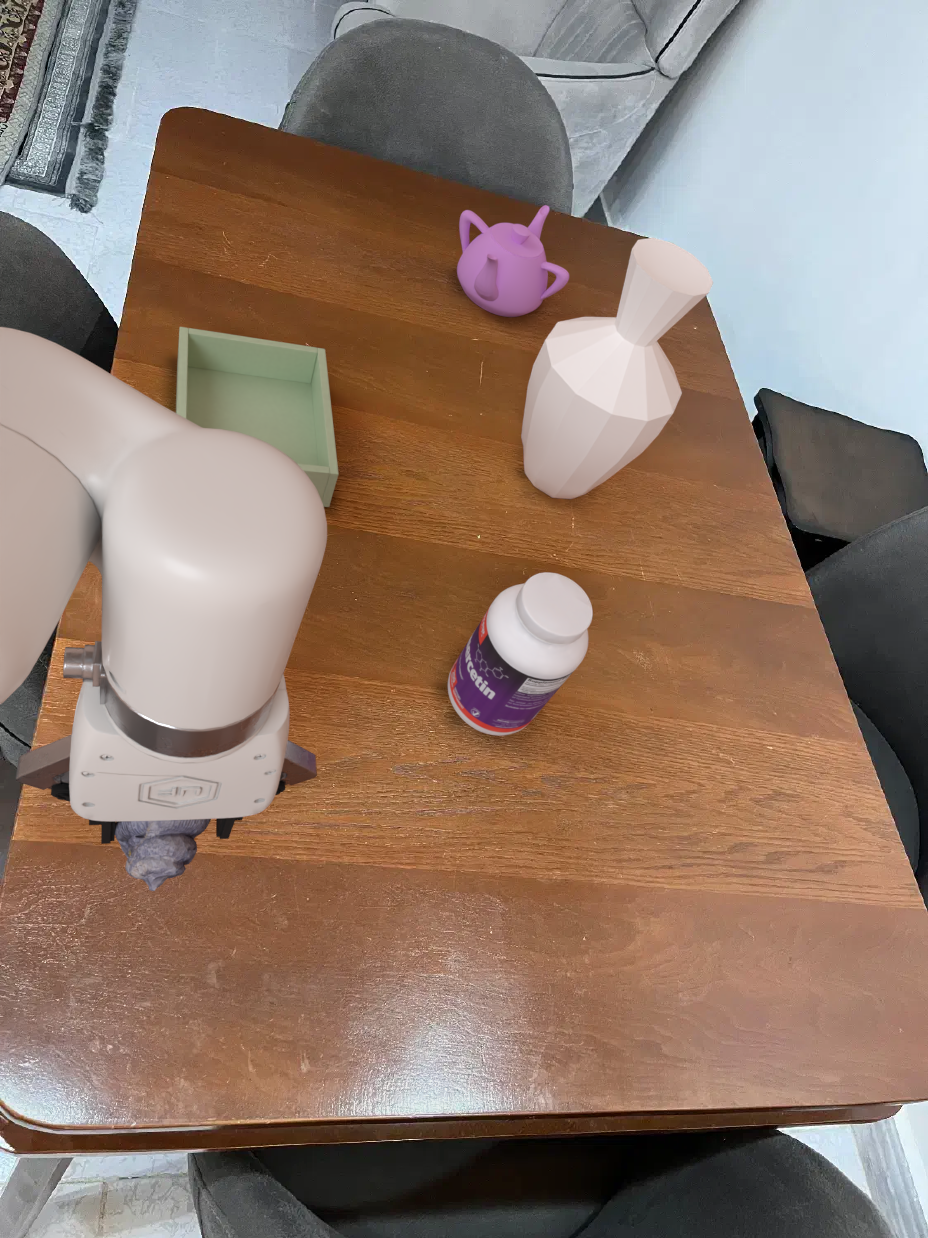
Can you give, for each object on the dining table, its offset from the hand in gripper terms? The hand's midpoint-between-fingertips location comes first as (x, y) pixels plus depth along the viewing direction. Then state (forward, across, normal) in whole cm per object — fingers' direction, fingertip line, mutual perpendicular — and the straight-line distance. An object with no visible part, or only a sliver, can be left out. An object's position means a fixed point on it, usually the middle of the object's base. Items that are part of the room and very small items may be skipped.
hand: (167, 816), depth 51 cm
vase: (+6, +39, +40) cm, 56 cm away
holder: (+6, +7, +40) cm, 41 cm away
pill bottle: (+6, +26, +12) cm, 29 cm away
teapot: (+6, +38, +70) cm, 80 cm away
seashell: (+1, 0, 0) cm, 1 cm away
